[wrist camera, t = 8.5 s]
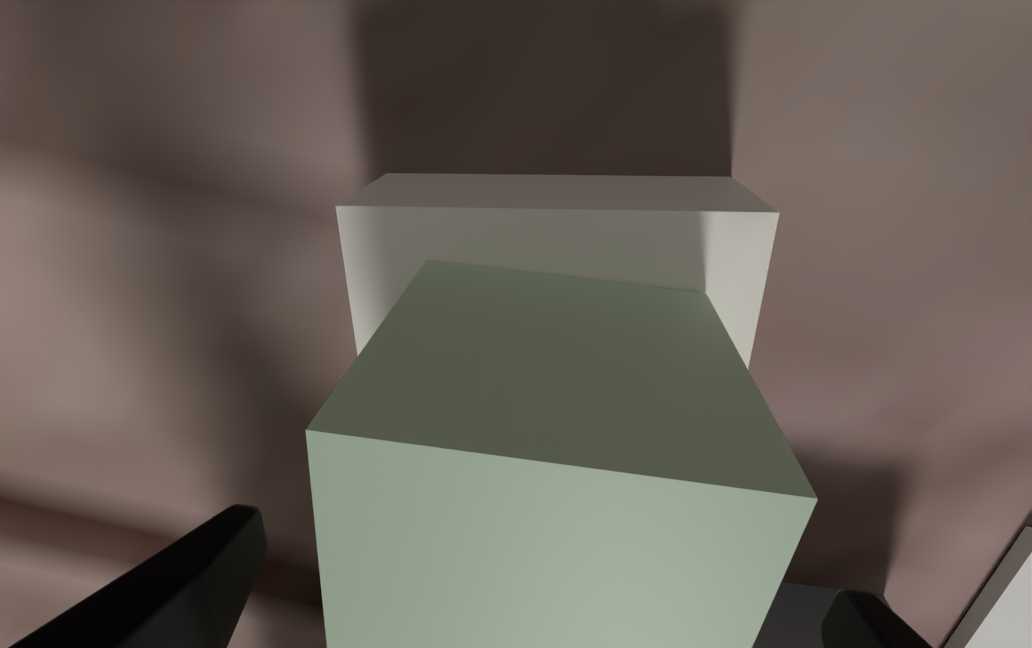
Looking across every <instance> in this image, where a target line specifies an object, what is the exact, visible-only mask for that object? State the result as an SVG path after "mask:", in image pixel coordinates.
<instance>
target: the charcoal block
mask: <svg viewBox="0 0 1032 648" xmlns="http://www.w3.org/2000/svg"><path fill="white" fill-rule="evenodd" d="M839 590H840V589H832V588H825V587H818V586H810V585H803V584H796V583H788V582H781V583H780V586H779V588H778V590H777V592H776V595H775V597H774V599H773V601H772V604H771V606H770V608H769V610H768V613H767V615H766V617H765V619H764V622H763V624H762V626H761V628H760V631H759V633H758V635H757V637H756V640H755V642H754V644H753V646H752V648H824V646H823V642H822V637H821V625H822V621H823V619H824V617H825V615H826V613H827V611H828V609H829V607H830V605H831V603H832V601H833V599H834V597H835V595H836V593H837V592H838V591H839ZM874 595H876V594H874ZM876 596H877V597H878V598H879V599H880V600H881V601H882V602H883V603H885V604H886V605H887V606H888V607H889V608H890V606H889V604H888V603H887V601H886V599H885V597H884V596H883V595H876ZM890 609H891V608H890ZM891 610H892V609H891Z"/></svg>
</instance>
